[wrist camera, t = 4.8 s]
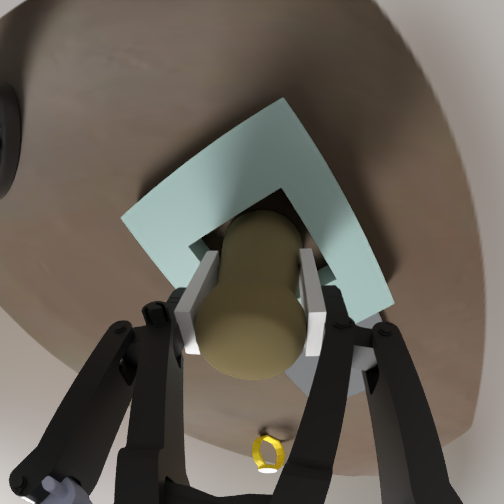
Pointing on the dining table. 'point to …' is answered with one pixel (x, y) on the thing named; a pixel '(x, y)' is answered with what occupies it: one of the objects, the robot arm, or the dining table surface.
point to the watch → (258, 458)
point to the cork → (254, 300)
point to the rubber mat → (306, 365)
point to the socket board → (250, 192)
